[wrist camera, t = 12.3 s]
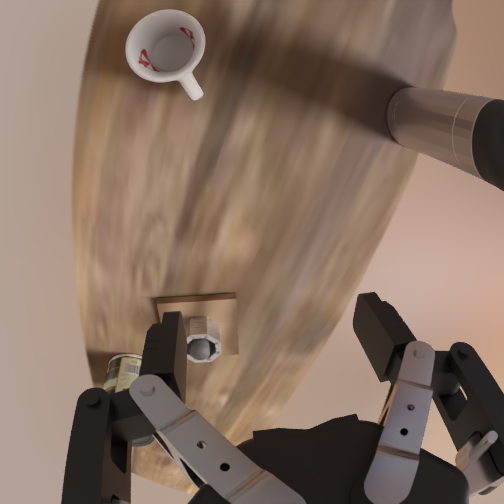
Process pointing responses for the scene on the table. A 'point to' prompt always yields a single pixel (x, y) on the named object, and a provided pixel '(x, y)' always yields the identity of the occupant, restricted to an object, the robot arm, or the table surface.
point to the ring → (203, 336)
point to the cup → (167, 49)
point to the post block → (210, 306)
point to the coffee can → (125, 381)
